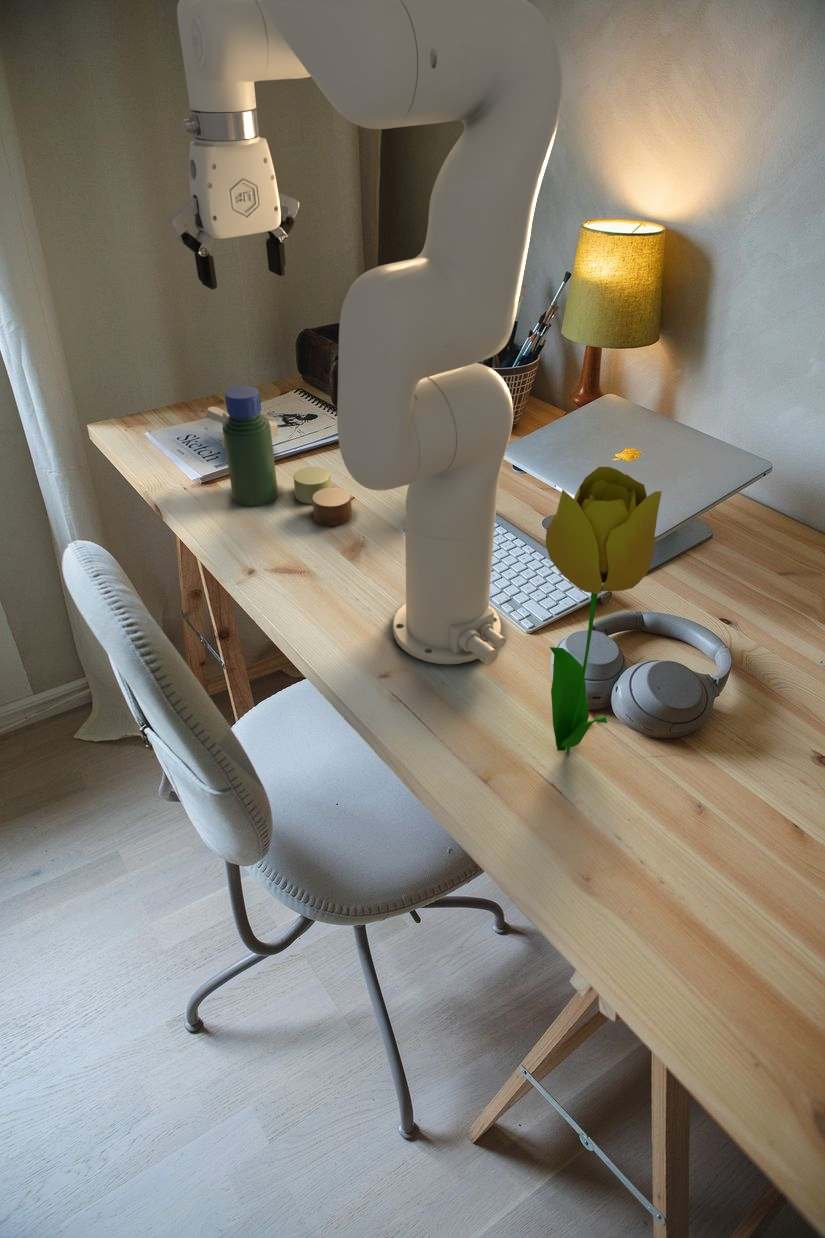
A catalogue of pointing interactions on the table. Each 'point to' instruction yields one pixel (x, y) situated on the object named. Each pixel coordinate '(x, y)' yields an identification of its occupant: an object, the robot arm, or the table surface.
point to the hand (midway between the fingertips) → (243, 279)
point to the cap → (243, 401)
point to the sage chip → (310, 482)
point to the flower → (596, 572)
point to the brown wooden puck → (332, 506)
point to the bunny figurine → (222, 415)
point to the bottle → (250, 460)
